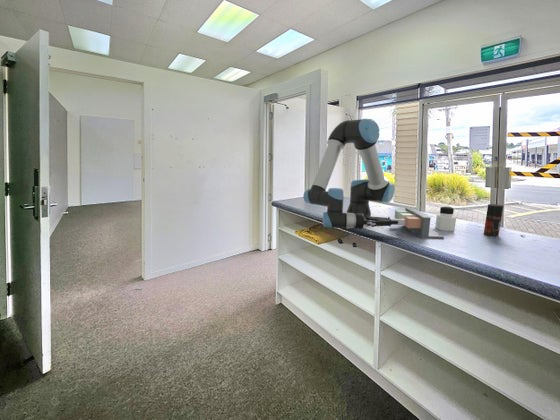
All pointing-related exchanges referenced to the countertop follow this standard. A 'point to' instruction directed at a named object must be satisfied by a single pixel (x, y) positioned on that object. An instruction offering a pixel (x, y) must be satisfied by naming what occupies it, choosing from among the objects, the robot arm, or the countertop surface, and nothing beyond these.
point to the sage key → (397, 213)
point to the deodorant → (493, 220)
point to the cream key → (406, 215)
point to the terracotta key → (413, 222)
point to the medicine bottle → (445, 219)
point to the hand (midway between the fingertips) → (404, 222)
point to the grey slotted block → (424, 226)
